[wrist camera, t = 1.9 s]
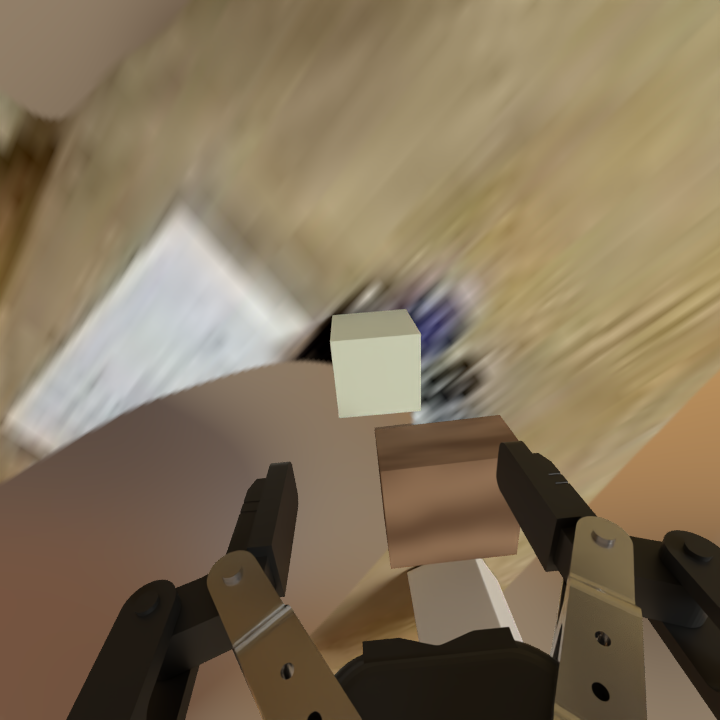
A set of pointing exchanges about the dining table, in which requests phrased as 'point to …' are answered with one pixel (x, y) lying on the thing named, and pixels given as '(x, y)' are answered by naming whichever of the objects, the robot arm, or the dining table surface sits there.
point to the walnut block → (444, 491)
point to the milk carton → (457, 601)
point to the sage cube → (376, 363)
